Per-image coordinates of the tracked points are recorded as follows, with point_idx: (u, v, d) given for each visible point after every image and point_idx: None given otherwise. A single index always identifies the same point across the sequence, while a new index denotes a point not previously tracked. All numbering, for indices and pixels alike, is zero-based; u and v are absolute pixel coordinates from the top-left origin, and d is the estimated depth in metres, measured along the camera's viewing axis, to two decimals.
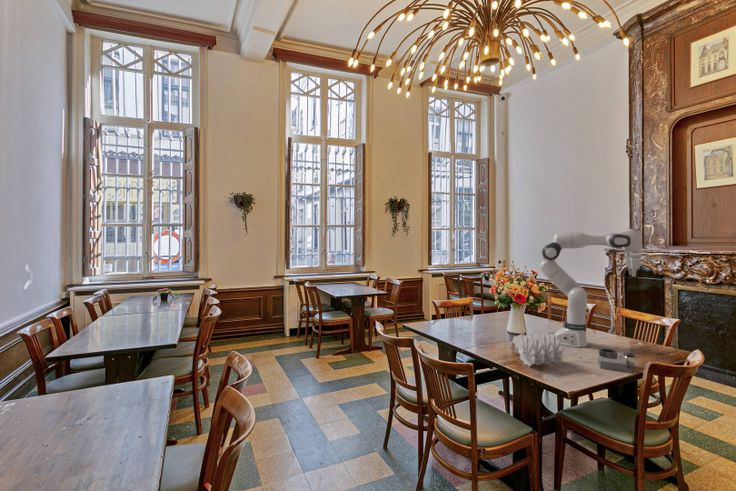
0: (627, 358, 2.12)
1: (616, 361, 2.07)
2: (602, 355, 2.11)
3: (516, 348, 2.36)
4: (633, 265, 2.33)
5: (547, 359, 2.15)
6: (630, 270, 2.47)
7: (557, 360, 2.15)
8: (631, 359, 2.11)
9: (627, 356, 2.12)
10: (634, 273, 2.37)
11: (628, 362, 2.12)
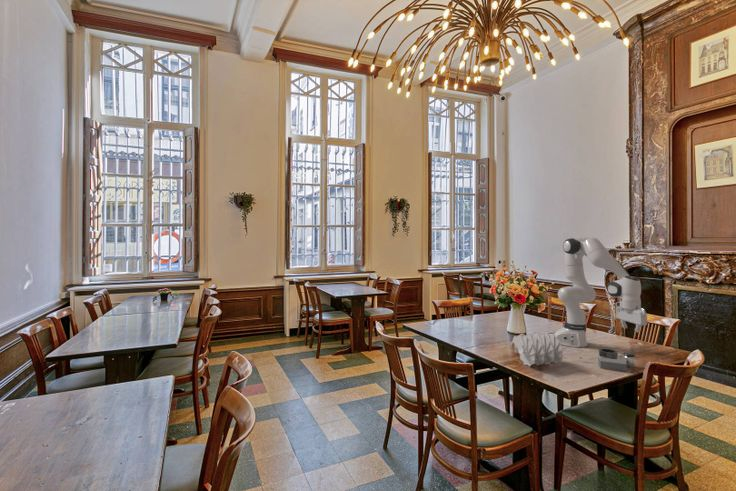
0: (627, 358, 2.12)
1: (616, 361, 2.07)
2: (602, 355, 2.11)
3: (516, 348, 2.36)
4: None
5: (547, 359, 2.15)
6: None
7: (557, 360, 2.15)
8: (631, 359, 2.11)
9: (627, 356, 2.12)
10: None
11: (628, 362, 2.12)
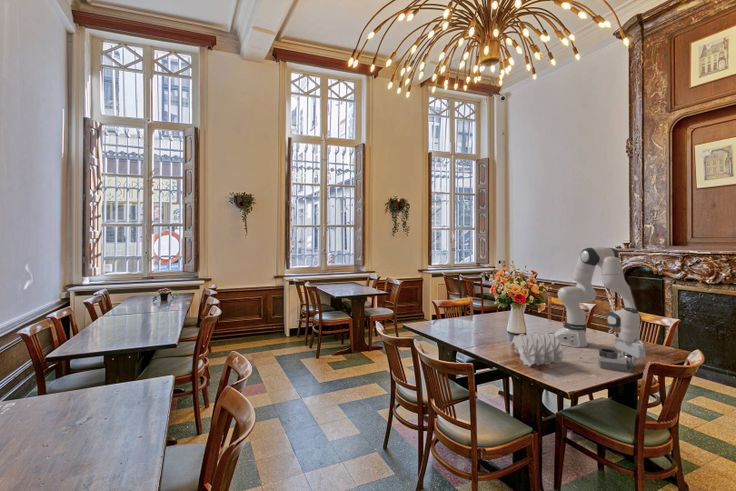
0: (627, 358, 2.12)
1: (616, 361, 2.07)
2: (602, 355, 2.11)
3: (516, 348, 2.36)
4: None
5: (547, 359, 2.15)
6: None
7: (557, 360, 2.15)
8: (631, 359, 2.11)
9: (627, 356, 2.12)
10: None
11: (628, 362, 2.12)
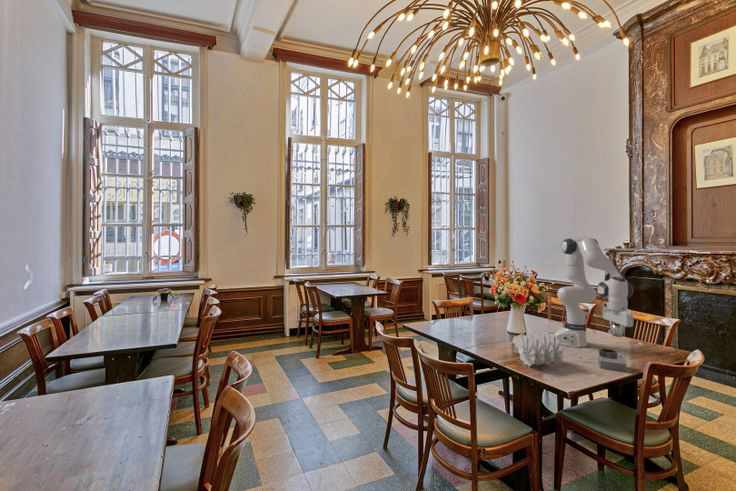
0: (615, 327, 2.11)
1: (616, 361, 2.07)
2: (602, 355, 2.11)
3: (516, 348, 2.36)
4: None
5: (547, 359, 2.15)
6: None
7: (557, 360, 2.15)
8: (619, 328, 2.10)
9: (615, 325, 2.11)
10: None
11: (616, 331, 2.11)
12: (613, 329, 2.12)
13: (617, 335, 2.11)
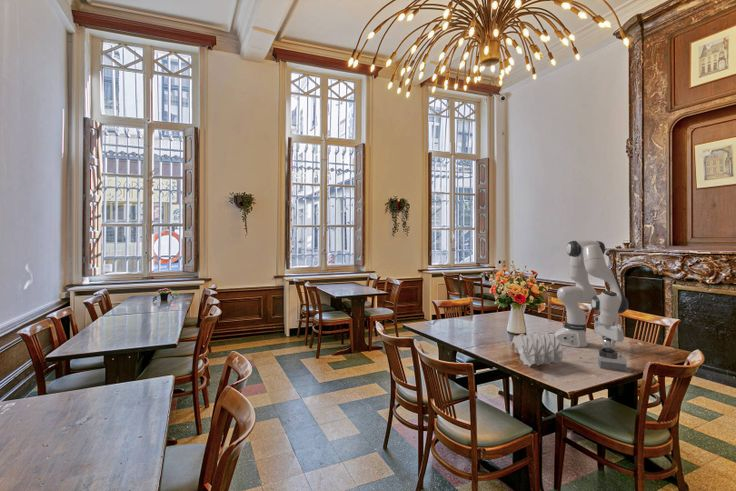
0: (606, 341, 2.11)
1: (616, 361, 2.07)
2: (602, 355, 2.11)
3: (516, 348, 2.36)
4: None
5: (547, 359, 2.15)
6: None
7: (557, 360, 2.15)
8: (610, 342, 2.10)
9: (606, 339, 2.11)
10: None
11: (607, 345, 2.11)
12: (604, 343, 2.12)
13: (608, 349, 2.11)
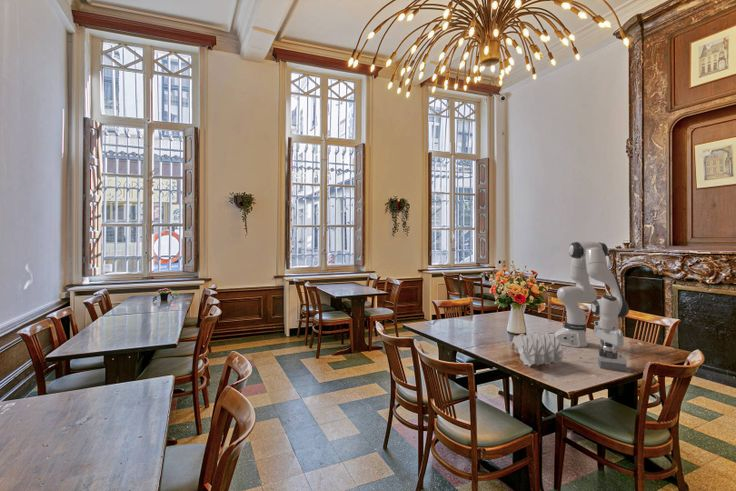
0: (606, 348, 2.11)
1: (616, 361, 2.07)
2: (602, 355, 2.11)
3: (516, 348, 2.36)
4: None
5: (547, 359, 2.15)
6: None
7: (557, 360, 2.15)
8: (610, 348, 2.10)
9: (606, 346, 2.11)
10: None
11: None
12: (604, 349, 2.12)
13: None
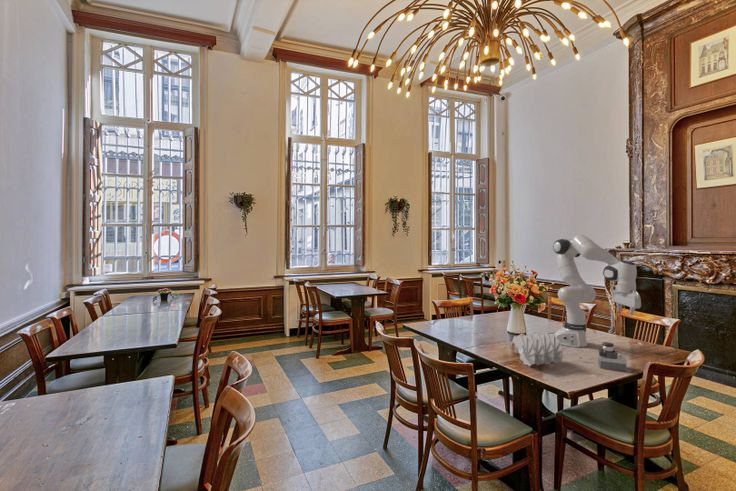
0: (606, 348, 2.11)
1: (616, 361, 2.07)
2: (602, 355, 2.11)
3: (516, 348, 2.36)
4: None
5: (547, 359, 2.15)
6: None
7: (557, 360, 2.15)
8: (610, 348, 2.10)
9: (606, 346, 2.11)
10: None
11: None
12: (604, 349, 2.12)
13: None
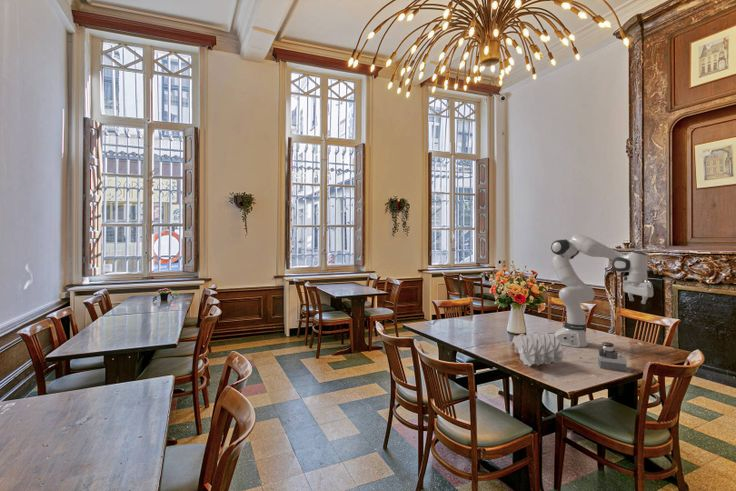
0: (606, 348, 2.11)
1: (616, 361, 2.07)
2: (602, 355, 2.11)
3: (516, 348, 2.36)
4: None
5: (547, 359, 2.15)
6: None
7: (557, 360, 2.15)
8: (610, 348, 2.10)
9: (606, 346, 2.11)
10: None
11: None
12: (604, 349, 2.12)
13: None
